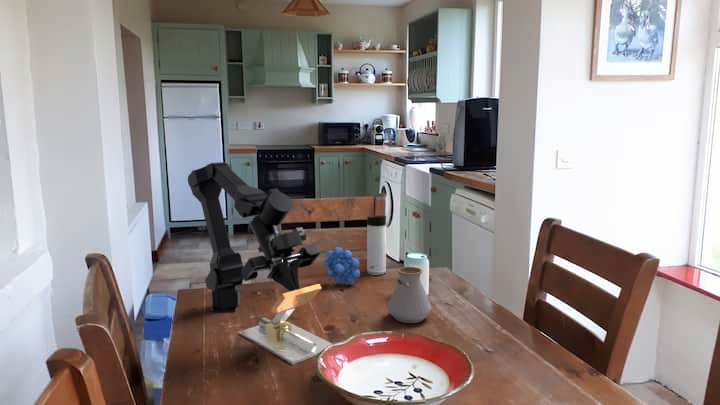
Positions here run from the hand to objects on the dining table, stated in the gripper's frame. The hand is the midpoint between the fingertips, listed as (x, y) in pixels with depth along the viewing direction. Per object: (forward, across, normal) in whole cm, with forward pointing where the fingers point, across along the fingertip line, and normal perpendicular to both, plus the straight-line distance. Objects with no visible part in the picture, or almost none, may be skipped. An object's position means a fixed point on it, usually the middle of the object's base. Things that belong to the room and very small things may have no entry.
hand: (297, 293), depth 118 cm
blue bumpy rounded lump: (-10, +36, +29) cm, 47 cm away
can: (+6, +46, +13) cm, 49 cm away
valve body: (+6, 0, +12) cm, 14 cm away
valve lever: (+1, 0, +12) cm, 12 cm away
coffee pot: (+15, +28, +4) cm, 32 cm away
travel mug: (-11, +53, +30) cm, 62 cm away
